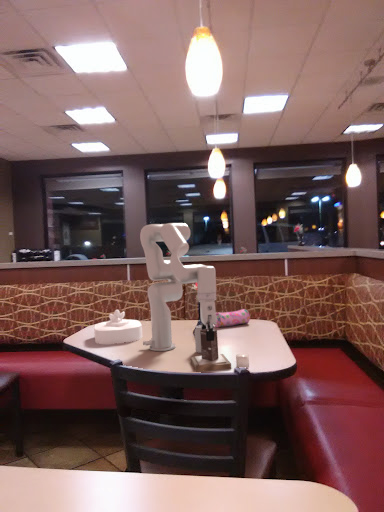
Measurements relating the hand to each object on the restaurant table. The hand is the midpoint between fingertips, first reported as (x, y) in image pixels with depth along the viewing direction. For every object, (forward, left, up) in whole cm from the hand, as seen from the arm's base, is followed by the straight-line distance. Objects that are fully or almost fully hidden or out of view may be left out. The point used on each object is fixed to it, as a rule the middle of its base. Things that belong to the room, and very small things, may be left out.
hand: (207, 337), depth 164 cm
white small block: (+12, -7, -11) cm, 18 cm away
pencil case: (+28, +70, -12) cm, 76 cm away
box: (0, -1, -9) cm, 9 cm away
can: (+1, +19, -12) cm, 22 cm away
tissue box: (-38, +62, -12) cm, 74 cm away
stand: (0, -1, -11) cm, 11 cm away
